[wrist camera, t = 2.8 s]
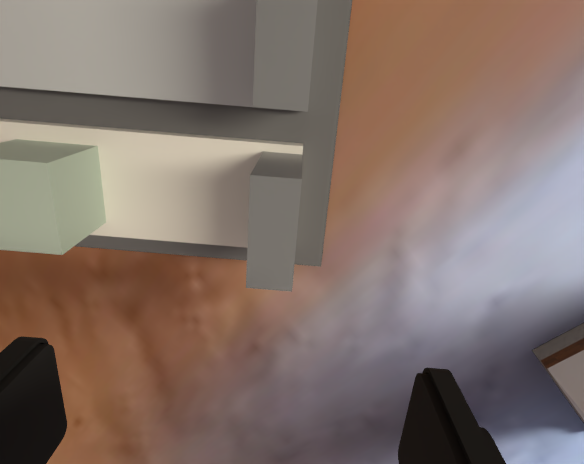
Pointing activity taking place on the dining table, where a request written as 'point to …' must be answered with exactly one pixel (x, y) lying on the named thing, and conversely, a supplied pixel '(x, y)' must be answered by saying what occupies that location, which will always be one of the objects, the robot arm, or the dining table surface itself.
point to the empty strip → (163, 49)
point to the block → (48, 195)
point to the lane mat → (222, 133)
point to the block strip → (193, 190)
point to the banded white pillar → (566, 365)
